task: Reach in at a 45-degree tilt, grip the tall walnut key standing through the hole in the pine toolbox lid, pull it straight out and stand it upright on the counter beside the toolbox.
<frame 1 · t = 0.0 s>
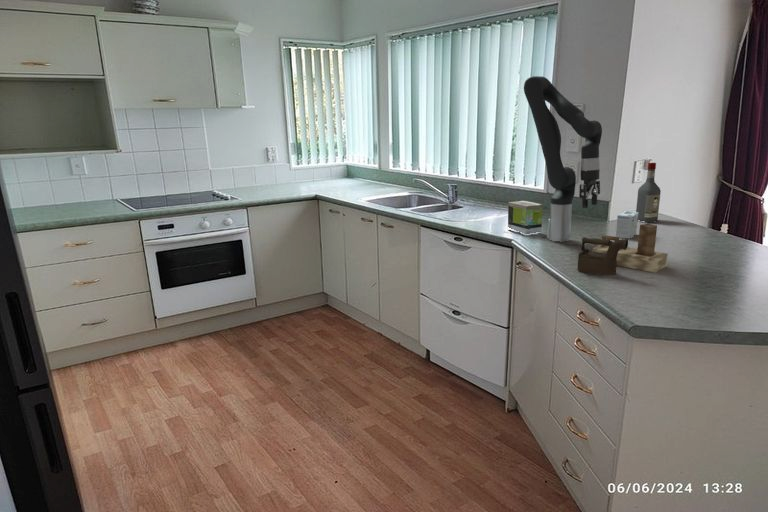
hand: (589, 206, 216), 17 cm above the worktop, tool pointing down, fingers open, 8 cm apart
pine toolbox: (627, 263, 192), on the worktop
tea box: (524, 232, 248), on the worktop
light bulb box: (625, 236, 232), on the worktop
walnut key: (644, 266, 188), resting in pine toolbox
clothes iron: (598, 272, 185), on the worktop
liquor: (646, 221, 259), on the worktop
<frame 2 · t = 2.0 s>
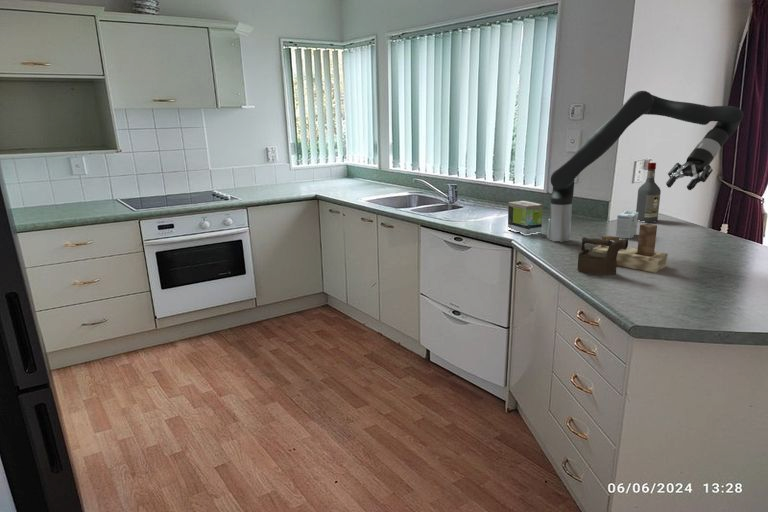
hand: (678, 187, 185), 29 cm above the worktop, tool tilted 45°, fingers open, 8 cm apart
nothing on the worktop moved.
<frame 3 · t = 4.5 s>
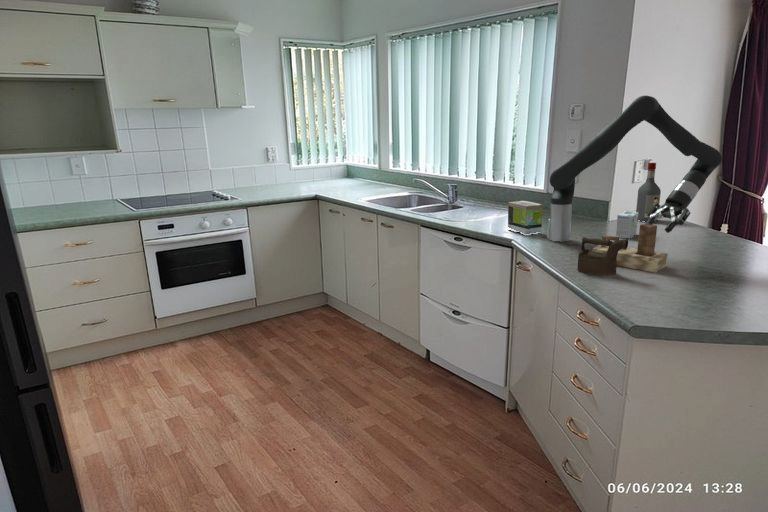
hand: (656, 229, 186), 14 cm above the worktop, tool tilted 45°, fingers open, 8 cm apart
nothing on the worktop moved.
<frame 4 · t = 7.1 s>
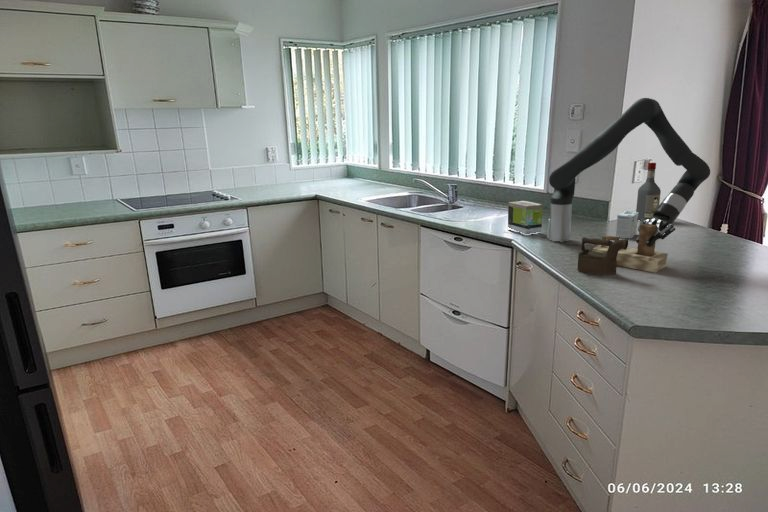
hand: (642, 243, 185), 9 cm above the worktop, tool tilted 45°, fingers closed on walnut key, 4 cm apart
walnut key: (644, 266, 188), resting in pine toolbox, touching gripper
everything else where it was.
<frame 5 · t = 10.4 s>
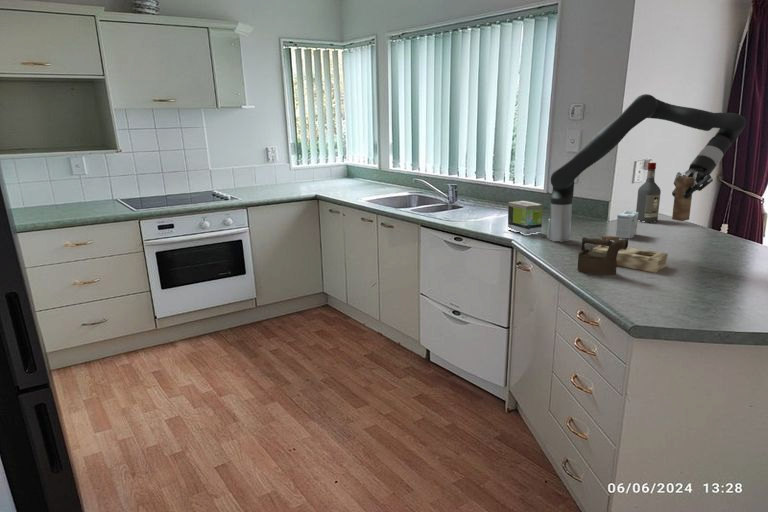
hand: (679, 196, 185), 25 cm above the worktop, tool tilted 45°, fingers closed on walnut key, 4 cm apart
walnut key: (680, 219, 188), point 16 cm above the worktop, touching gripper
everything else where it was.
when the fingers open (10 cm above the worktop, at t = 14.1 s): walnut key stays where it is, on the worktop.
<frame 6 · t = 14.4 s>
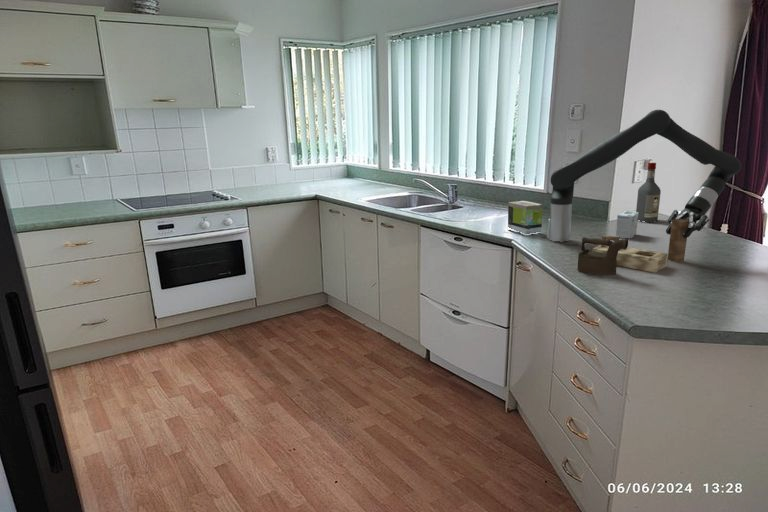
hand: (675, 235, 190), 10 cm above the worktop, tool tilted 45°, fingers open, 6 cm apart
walnut key: (675, 260, 193), on the worktop
everything else where it was.
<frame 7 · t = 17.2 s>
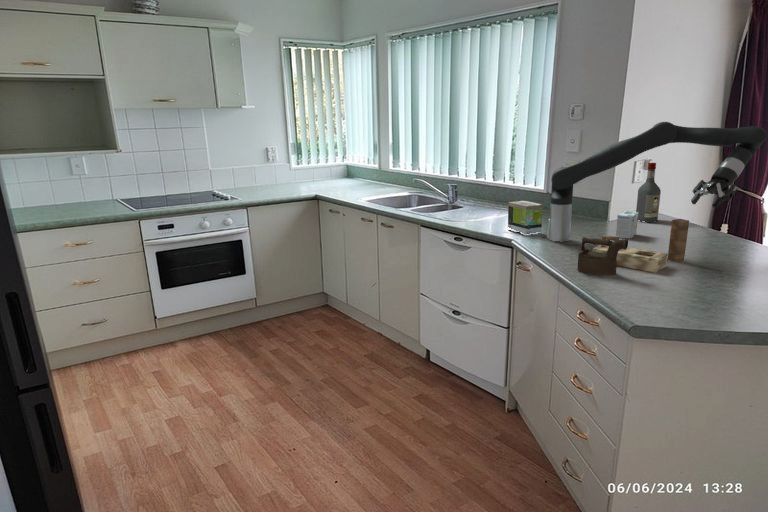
hand: (703, 205, 192), 21 cm above the worktop, tool tilted 45°, fingers open, 8 cm apart
nothing on the worktop moved.
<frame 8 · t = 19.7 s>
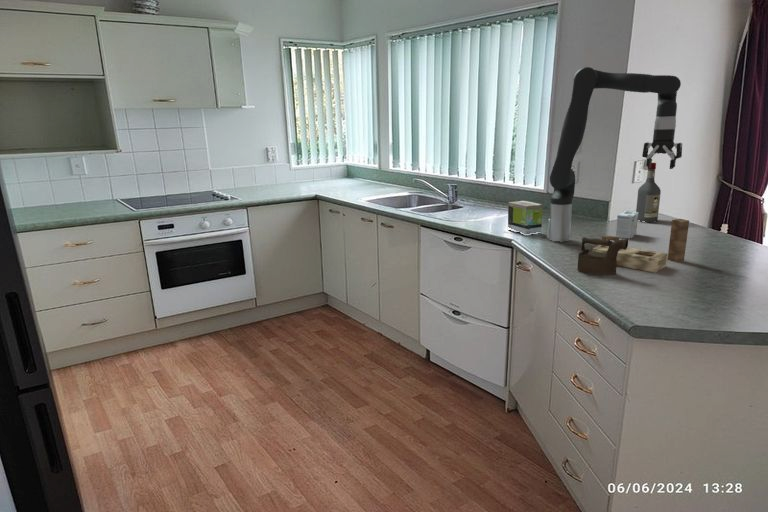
hand: (660, 168, 206), 33 cm above the worktop, tool pointing down, fingers open, 8 cm apart
nothing on the worktop moved.
at the end: walnut key inside the target area (0.1 cm from its centre), on the worktop; walnut key tilted 0°; the gripper is holding nothing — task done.
